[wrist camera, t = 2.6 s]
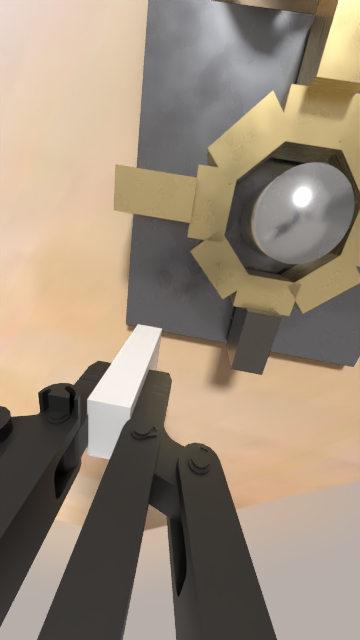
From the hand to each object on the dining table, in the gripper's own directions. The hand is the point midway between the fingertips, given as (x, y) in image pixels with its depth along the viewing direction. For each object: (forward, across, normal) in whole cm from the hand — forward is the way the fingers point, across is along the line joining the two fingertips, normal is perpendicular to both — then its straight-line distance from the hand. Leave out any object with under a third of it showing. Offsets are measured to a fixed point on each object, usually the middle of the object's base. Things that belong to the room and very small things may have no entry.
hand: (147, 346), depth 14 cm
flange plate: (+8, +7, +9) cm, 14 cm away
